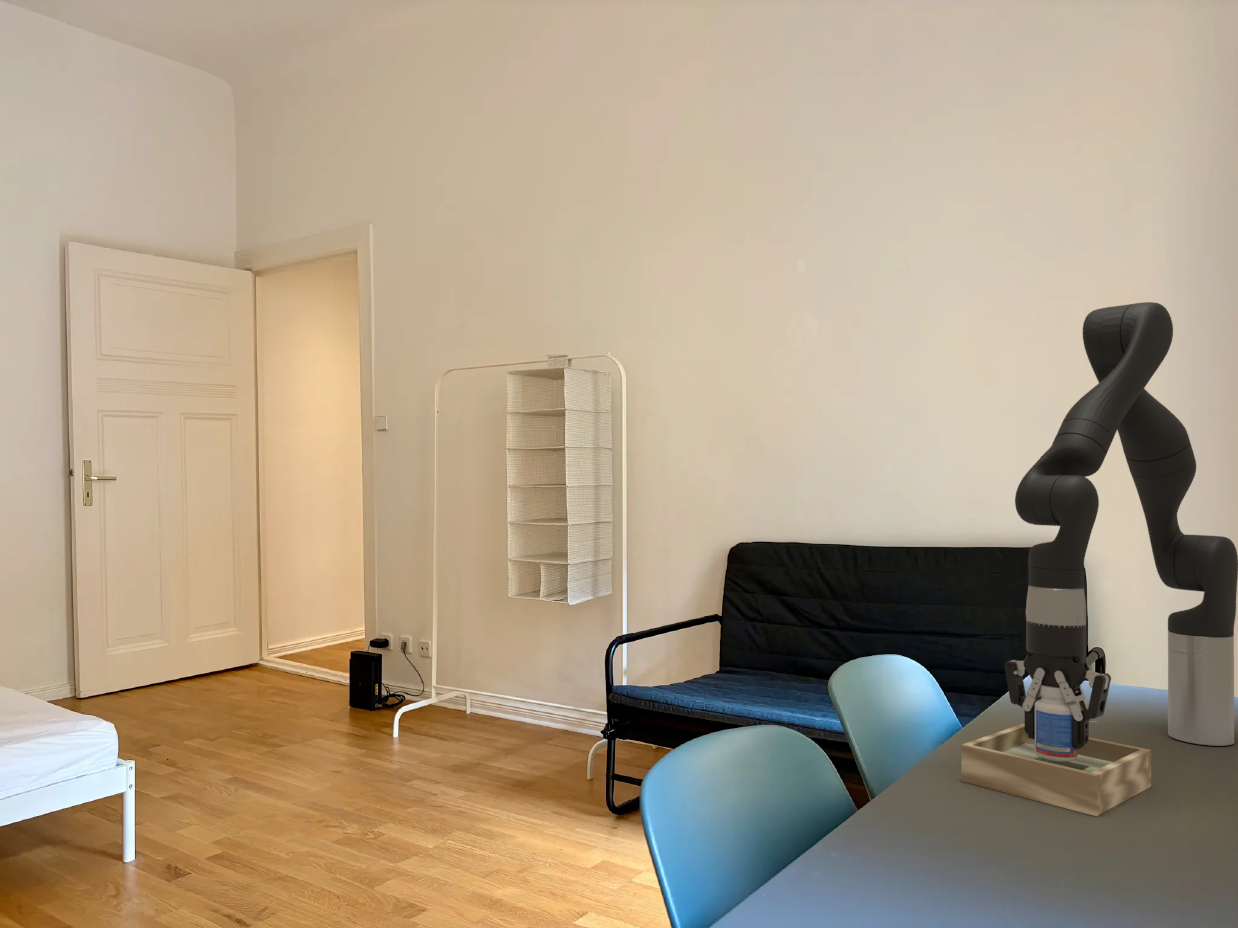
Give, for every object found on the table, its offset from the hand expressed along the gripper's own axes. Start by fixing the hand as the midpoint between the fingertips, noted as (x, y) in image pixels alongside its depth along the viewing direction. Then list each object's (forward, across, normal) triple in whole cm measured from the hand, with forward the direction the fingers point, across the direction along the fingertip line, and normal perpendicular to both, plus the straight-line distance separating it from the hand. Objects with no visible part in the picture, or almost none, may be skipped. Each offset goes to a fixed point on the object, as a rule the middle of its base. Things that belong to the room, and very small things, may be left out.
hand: (1055, 741), depth 130 cm
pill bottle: (+2, 0, 0) cm, 2 cm away
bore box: (+6, 0, 0) cm, 6 cm away
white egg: (+6, +8, -21) cm, 23 cm away
